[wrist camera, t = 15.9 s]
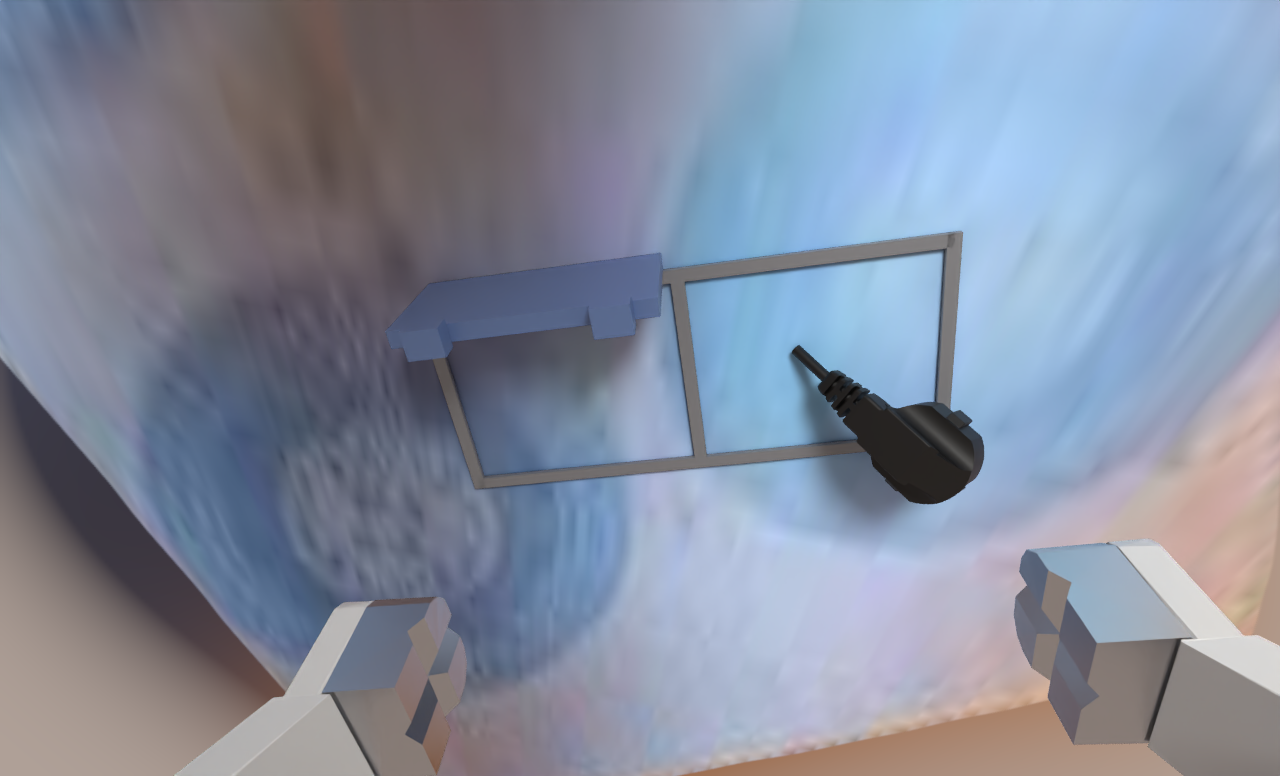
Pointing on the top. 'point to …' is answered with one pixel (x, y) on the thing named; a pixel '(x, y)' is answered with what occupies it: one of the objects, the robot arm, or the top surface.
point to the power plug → (905, 437)
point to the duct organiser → (628, 332)
